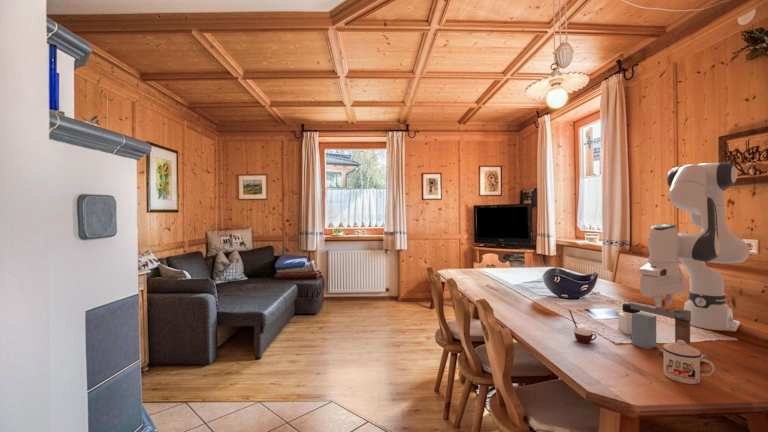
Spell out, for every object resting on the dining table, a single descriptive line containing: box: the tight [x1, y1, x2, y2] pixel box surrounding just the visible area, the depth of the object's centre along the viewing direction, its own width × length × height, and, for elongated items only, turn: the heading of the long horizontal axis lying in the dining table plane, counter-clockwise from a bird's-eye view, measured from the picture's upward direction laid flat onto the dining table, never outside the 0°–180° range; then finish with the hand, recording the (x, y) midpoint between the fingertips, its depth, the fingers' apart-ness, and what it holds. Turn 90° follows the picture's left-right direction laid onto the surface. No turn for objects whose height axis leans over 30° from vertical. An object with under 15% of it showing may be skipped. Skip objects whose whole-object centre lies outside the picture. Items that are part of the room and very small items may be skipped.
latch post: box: [658, 319, 708, 364], centre depth 121 cm, size 10×10×13 cm
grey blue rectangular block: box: [631, 311, 657, 350], centre depth 132 cm, size 6×6×12 cm
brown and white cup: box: [568, 309, 597, 344], centre depth 137 cm, size 10×6×12 cm, turn 46°
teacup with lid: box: [662, 340, 715, 385], centre depth 106 cm, size 12×9×12 cm
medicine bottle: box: [617, 302, 641, 335], centre depth 145 cm, size 7×7×12 cm
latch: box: [629, 297, 691, 321], centre depth 127 cm, size 4×18×6 cm, turn 27°
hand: (663, 306), depth 126 cm, fingers open, 3 cm apart
